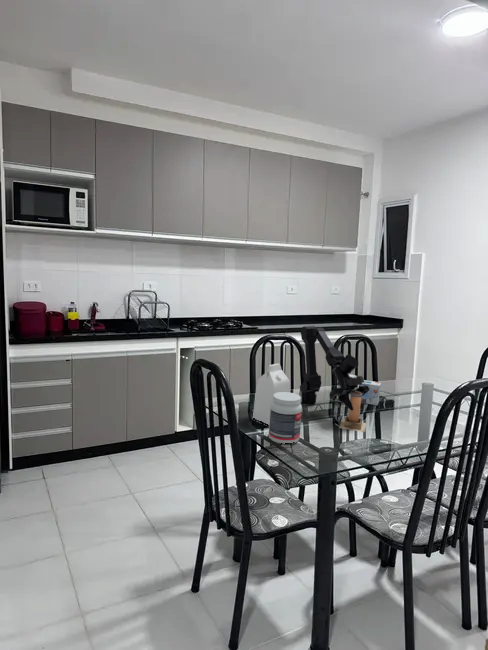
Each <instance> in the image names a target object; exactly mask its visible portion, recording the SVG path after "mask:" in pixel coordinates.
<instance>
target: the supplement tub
mask: <svg viewBox="0 0 488 650" xmlns="http://www.w3.org/2000/svg"><path fill="white" fill-rule="evenodd" d="M273 400H274V401H273V402H272V403H271V406H270V421H269V426H268V437H269V439H270V440H271V441H272V442H275V443H277V444H281V443H282V445H286V444H285V443H292V444H294V443H293V442H295V443H297V442H299V441H300V438H301V428H302V427H301V425H302V414H303V412H302V411H303V406H302V403H301V402H302V396H301V395H299V394H297V393H293V392H291V391H290V392H278V393H275V394H274V395H273Z"/></svg>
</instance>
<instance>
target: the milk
mask: <svg viewBox="0 0 488 650" xmlns="http://www.w3.org/2000/svg"><path fill="white" fill-rule="evenodd" d="M278 392H290V393H291V381H290V380H289V377H287V375H286V374H285V372H284V370H282V366H281V364H280V363H273V364H269V365H268V367H267V371H266V372H265V373H264V374H262V375H261V376H260V377H259V378H258V379H257V381H256V388H255V399H254V404H253V412H252V413H253V414H252V419H253V418H255V419H257V420H259V421H262V422H264V423H266V424H268V425H269V421H270V406H271V403H272V402H273V401H274V400H273V395H274V394H275V393H278Z"/></svg>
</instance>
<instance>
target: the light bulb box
mask: <svg viewBox="0 0 488 650" xmlns="http://www.w3.org/2000/svg"><path fill="white" fill-rule="evenodd" d="M364 385H367V386H368V387H369V389H370V390H369V391H368V392H367V393H366V394H365V395H363V396H362V404H367V405H373V406H378V405H379V402H380V394H381V387H382V386H381V385H382V383H381V382H379V381H378V382H377V381H373V380H365V379H364V383H362V385H358V387H360V386H364Z"/></svg>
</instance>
